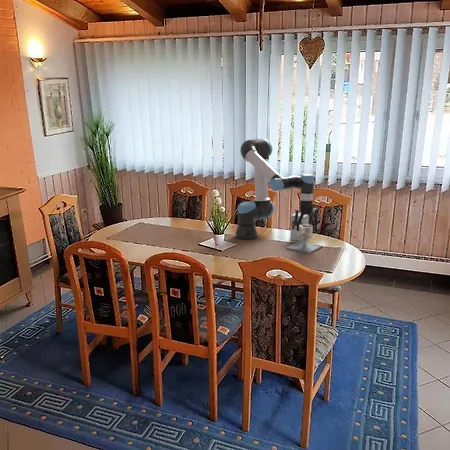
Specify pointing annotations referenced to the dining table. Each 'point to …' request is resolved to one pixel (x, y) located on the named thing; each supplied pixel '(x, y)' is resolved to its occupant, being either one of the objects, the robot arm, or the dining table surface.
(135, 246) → the dining table surface
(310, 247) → the shaft plate
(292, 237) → the supplement box
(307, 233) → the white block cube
